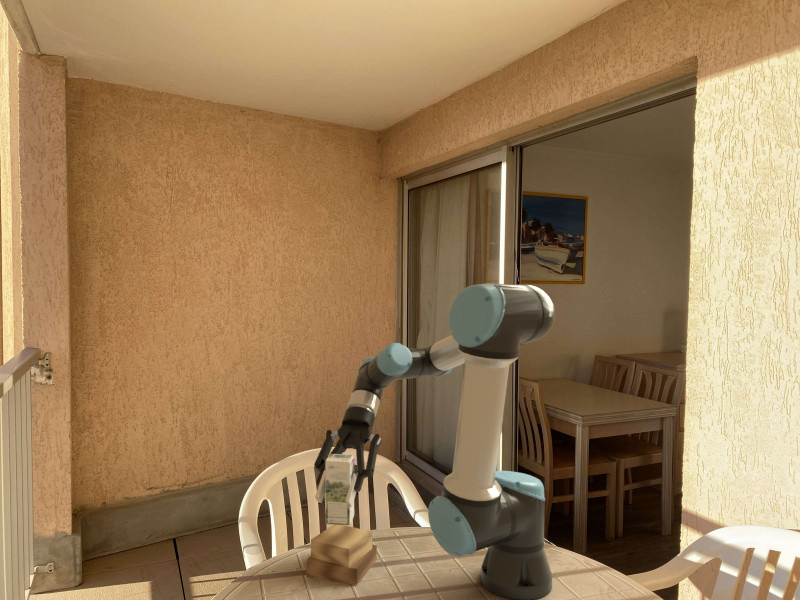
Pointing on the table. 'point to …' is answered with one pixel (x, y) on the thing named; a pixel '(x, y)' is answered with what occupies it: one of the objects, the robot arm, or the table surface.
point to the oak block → (341, 545)
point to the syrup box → (338, 489)
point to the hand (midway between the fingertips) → (333, 501)
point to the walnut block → (342, 569)
